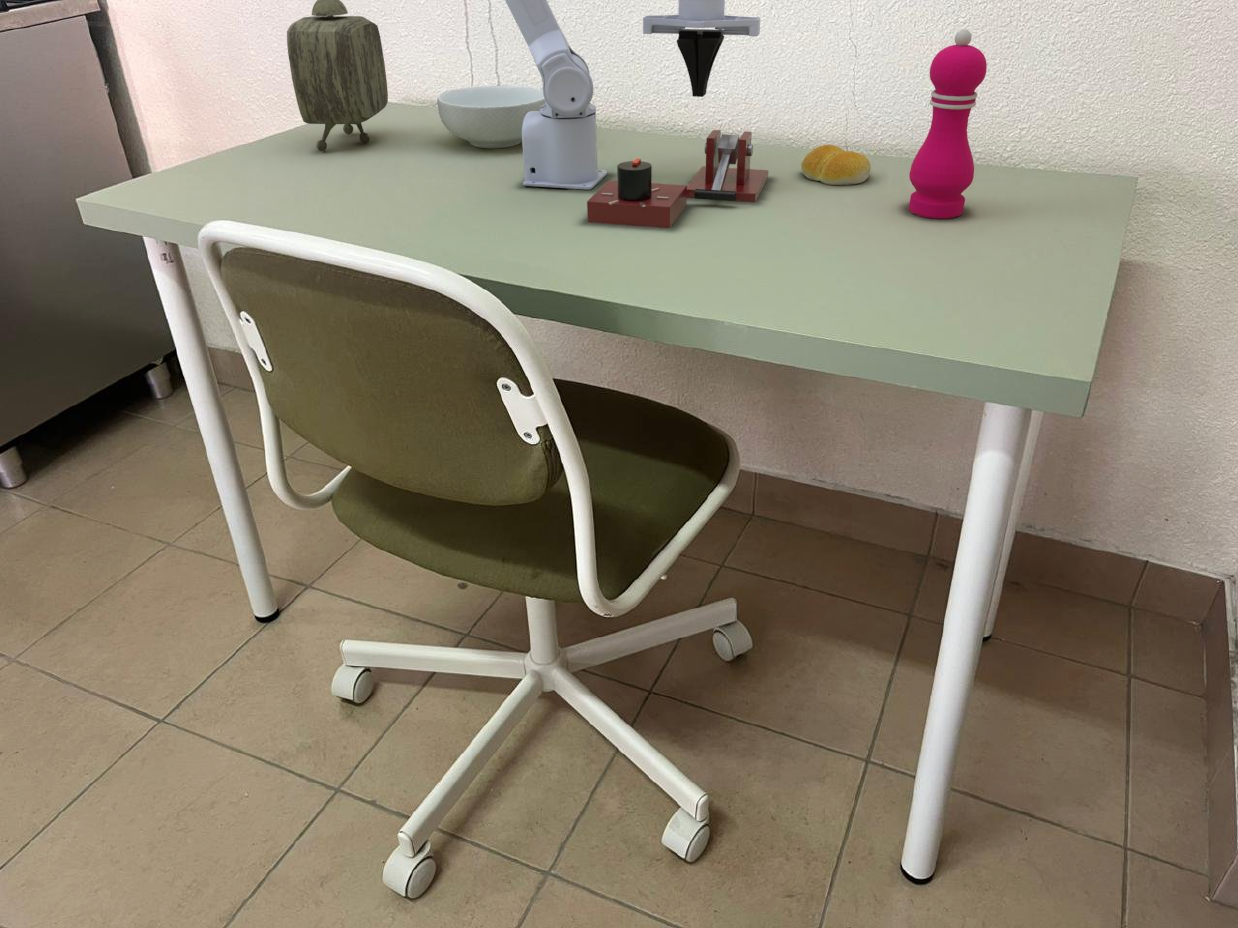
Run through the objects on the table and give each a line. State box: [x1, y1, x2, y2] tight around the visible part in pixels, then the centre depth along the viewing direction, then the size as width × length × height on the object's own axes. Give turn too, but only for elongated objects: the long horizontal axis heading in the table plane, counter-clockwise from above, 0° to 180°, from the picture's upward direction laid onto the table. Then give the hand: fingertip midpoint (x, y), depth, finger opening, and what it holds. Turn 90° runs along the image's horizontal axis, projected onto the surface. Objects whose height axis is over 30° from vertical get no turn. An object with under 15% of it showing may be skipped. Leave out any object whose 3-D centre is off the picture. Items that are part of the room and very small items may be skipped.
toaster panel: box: [586, 180, 688, 229], centre depth 114 cm, size 10×10×3 cm
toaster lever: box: [693, 133, 740, 202], centre depth 119 cm, size 11×5×2 cm, turn 164°
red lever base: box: [686, 129, 769, 203], centre depth 122 cm, size 11×9×7 cm
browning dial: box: [616, 158, 653, 201], centre depth 112 cm, size 4×4×4 cm
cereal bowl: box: [436, 85, 545, 149], centre depth 145 cm, size 17×17×7 cm
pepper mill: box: [908, 29, 988, 220], centre depth 109 cm, size 7×7×20 cm
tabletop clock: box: [286, 0, 389, 152], centre depth 142 cm, size 14×9×25 cm, turn 172°
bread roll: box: [800, 144, 872, 186], centre depth 126 cm, size 8×9×4 cm
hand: (699, 95), depth 124 cm, fingers closed
